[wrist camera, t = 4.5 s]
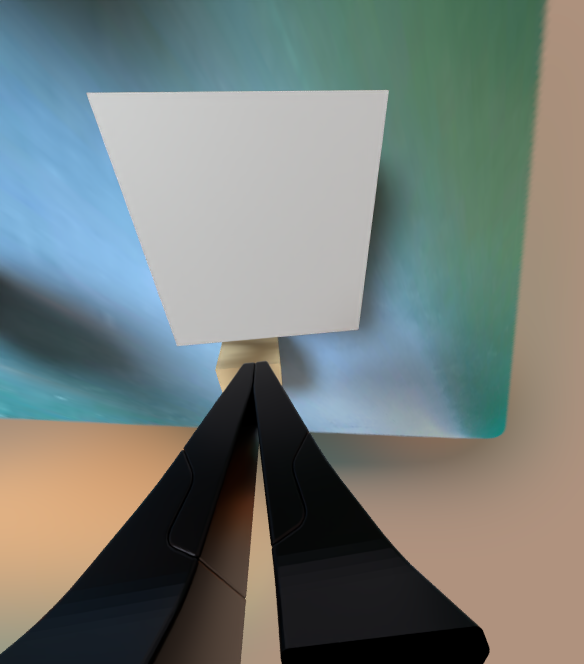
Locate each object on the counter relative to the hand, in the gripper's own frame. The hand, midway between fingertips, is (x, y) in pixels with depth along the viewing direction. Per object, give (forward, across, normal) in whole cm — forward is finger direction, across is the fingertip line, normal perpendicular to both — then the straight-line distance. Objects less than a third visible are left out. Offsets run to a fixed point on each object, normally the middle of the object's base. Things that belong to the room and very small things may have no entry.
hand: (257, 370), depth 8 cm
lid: (+7, 0, -3) cm, 8 cm away
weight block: (+12, +2, +9) cm, 15 cm away
